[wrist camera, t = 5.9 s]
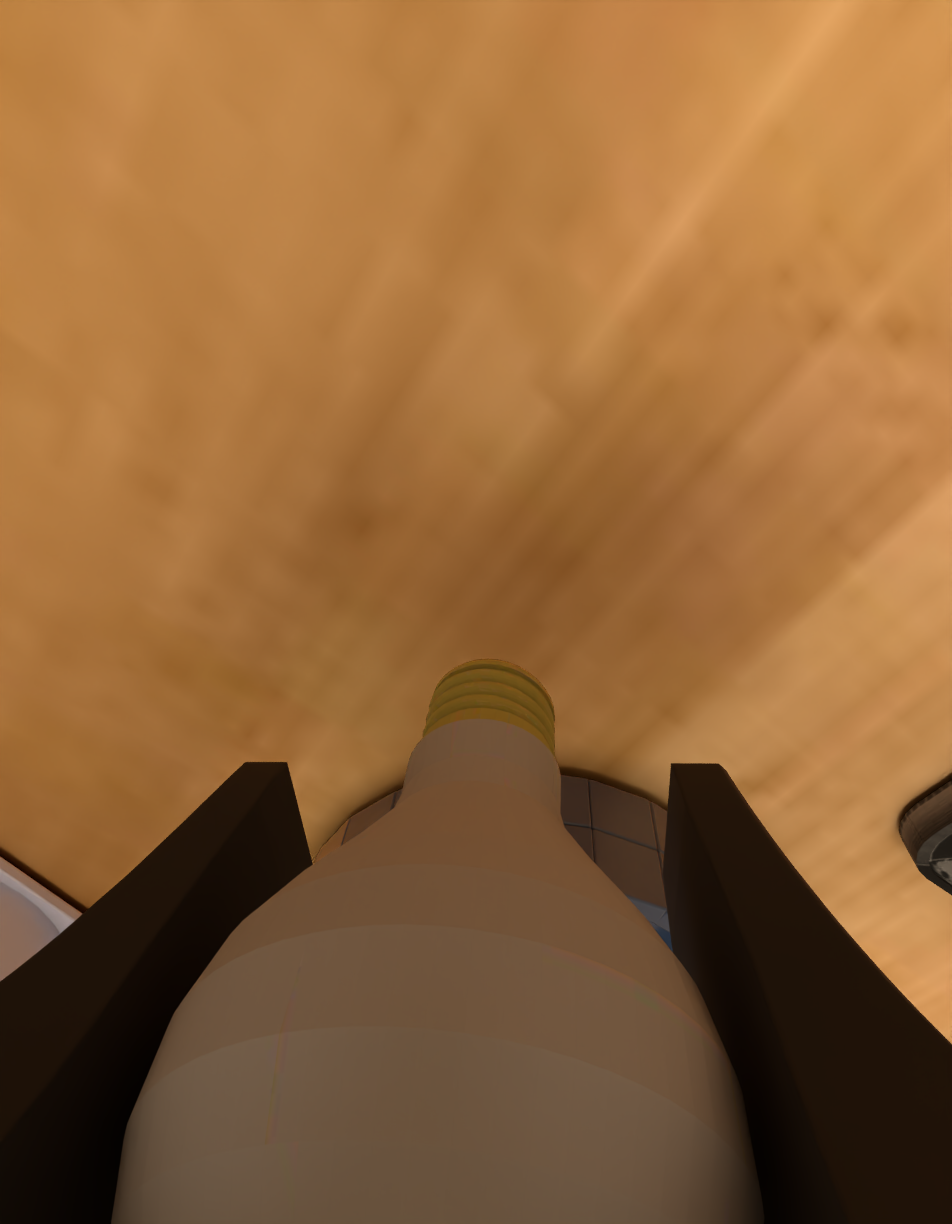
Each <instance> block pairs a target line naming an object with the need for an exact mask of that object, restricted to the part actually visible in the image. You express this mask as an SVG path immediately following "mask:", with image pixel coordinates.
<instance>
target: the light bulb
mask: <svg viewBox="0 0 952 1224" xmlns="http://www.w3.org/2000/svg"><path fill="white" fill-rule="evenodd" d="M554 721H555V715H554V707H553V704H552V701H551V698H550V696H549V694H548V693H547V691H546V689H545V688H544V687H543V686H542V685H541V683H540V682H539V681H538V680H537V679H536V678H535V677H534V676H533V675H531V674H530V673H529V672H528V671H526V670H524V669H523V668H521V667H519V666H517V665H514V664H512V663H509V662H505V661H501V660H495V659H481V660H474V661H470V662H467V663H464V664H462V665H459V666H457V667H455V668H454V669H452V670H451V671H450V672H448V673H447V674H446V675H445V676H444V677H443V678H442V679H441V680H440V682H439V683H438V685H437V687H436V689H435V691H434V694H433V696H432V699H431V702H430V705H429V712H428V715H427V718H426V726H425V729H424V731H423V738H422V740H421V741H420V742H419V743H418V744H417V746H416V747H415V748H414V750H413V752H412V754H411V756H410V758H409V762H408V766H407V771H406V775H405V780H404V785H403V790H402V794H401V796H400V798H399V800H398V802H397V804H396V805H395V807H394V808H393V809H392V810H391V811H389V812H388V813H387V814H385V815H384V816H383V817H381V818H380V819H379V820H377V821H376V822H375V823H373V824H372V825H371V826H369V827H368V828H367V829H365V830H364V831H363V832H361V833H360V834H358V835H357V836H355V837H354V838H352V839H351V840H349V841H348V842H346V843H345V844H343V845H342V846H340V847H339V848H337V849H336V850H334V851H333V852H331V853H330V854H328V855H327V856H325V857H324V858H322V859H321V860H319V861H318V862H316V863H315V864H313V865H312V866H310V867H309V868H307V869H306V870H304V871H303V872H302V873H300V874H299V875H298V876H297V877H296V878H294V879H293V880H292V881H291V882H289V883H288V884H287V885H286V886H285V887H283V888H282V889H281V890H280V891H278V892H277V893H276V894H275V895H274V896H272V897H271V898H270V899H269V900H267V901H266V902H265V903H264V904H262V905H261V906H260V907H259V908H258V909H256V910H255V911H254V912H253V913H251V914H250V915H249V916H248V917H247V918H245V919H244V920H243V921H242V922H241V923H240V924H239V925H238V926H237V927H236V929H235V930H234V931H233V932H232V933H231V934H230V935H229V937H228V938H227V940H226V941H225V942H224V944H223V945H222V947H221V948H220V949H219V951H218V952H217V953H216V955H215V956H214V958H213V959H212V960H211V962H210V963H209V965H208V966H207V967H206V969H205V970H204V971H203V973H202V974H201V976H200V977H199V978H198V980H197V981H196V983H195V984H194V985H193V987H192V988H191V989H190V991H189V992H188V994H187V995H186V996H185V998H184V999H183V1001H182V1002H181V1004H180V1005H179V1007H178V1008H177V1009H176V1011H175V1012H174V1014H173V1016H172V1019H171V1021H170V1023H169V1025H168V1027H167V1030H166V1032H165V1035H164V1037H163V1039H162V1042H161V1044H160V1046H159V1049H158V1051H157V1054H156V1056H155V1058H154V1061H153V1063H152V1066H151V1068H150V1070H149V1073H148V1075H147V1078H146V1080H145V1082H144V1085H143V1087H142V1089H141V1092H140V1094H139V1097H138V1099H137V1101H136V1104H135V1106H134V1109H133V1111H132V1113H131V1116H130V1118H129V1121H128V1123H127V1126H126V1131H125V1135H124V1140H123V1147H122V1153H121V1160H120V1167H119V1173H118V1180H117V1187H116V1193H115V1200H114V1207H113V1213H112V1220H111V1224H764V1210H763V1202H762V1197H761V1191H760V1186H759V1180H758V1175H757V1169H756V1164H755V1158H754V1153H753V1147H752V1142H751V1137H750V1131H749V1126H748V1120H747V1115H746V1109H745V1104H744V1098H743V1093H742V1090H741V1087H740V1084H739V1081H738V1078H737V1075H736V1073H735V1071H734V1068H733V1066H732V1064H731V1062H730V1059H729V1057H728V1055H727V1052H726V1050H725V1048H724V1045H723V1043H722V1041H721V1038H720V1036H719V1034H718V1031H717V1029H716V1027H715V1025H714V1022H713V1020H712V1018H711V1015H710V1013H709V1011H708V1008H707V1006H706V1004H705V1001H704V999H703V997H702V995H701V993H700V991H699V989H698V987H697V985H696V983H695V982H694V981H693V979H692V978H691V976H690V975H689V973H688V972H687V970H686V969H685V968H684V966H683V965H682V964H681V962H680V961H679V960H678V959H677V957H676V956H675V955H674V953H673V952H672V951H671V950H670V948H669V947H668V946H667V945H666V943H665V942H664V941H663V939H662V938H661V937H660V936H659V934H658V933H657V932H656V930H655V929H654V928H653V927H652V925H651V924H650V923H649V921H648V920H647V919H646V918H645V916H644V915H643V914H642V913H641V912H640V911H639V910H638V909H637V907H636V906H635V905H634V904H633V903H632V902H631V901H630V900H629V899H628V898H627V897H626V896H625V895H624V894H623V892H622V891H621V890H620V889H619V888H618V887H617V886H616V885H615V884H614V883H613V882H612V881H611V880H610V879H609V878H608V877H607V876H606V875H605V873H604V872H603V871H602V870H601V869H600V868H599V867H598V866H597V865H596V864H595V863H594V862H593V861H592V860H591V859H590V857H589V856H588V855H587V854H586V853H585V851H584V850H583V849H582V848H581V847H580V846H579V844H578V843H577V842H576V841H575V840H574V838H573V837H572V836H571V835H570V834H569V832H568V831H567V830H566V829H565V828H564V824H563V821H562V817H561V813H560V806H561V776H560V771H559V767H558V764H557V762H556V760H555V752H554V747H555V740H554V733H555V728H554Z"/></svg>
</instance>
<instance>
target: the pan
mask: <svg viewBox="0 0 952 1224" xmlns="http://www.w3.org/2000/svg"><path fill="white" fill-rule="evenodd" d="M560 776H561V806H560V813H561V817H562V821H563V824H564V828H565V829H566V830H567V831H568V832H569V834H570V835H571V836H572V837H573V838H574V840H575V841H576V842H577V843H578V844H579V846H580V847H581V848H582V849H583V850H584V851H585V853H586V854H587V855H588V856H589V857H590V859H591V860H592V861H593V862H594V863H595V864H596V865H597V866H598V867H599V868H600V869H601V870H602V871H603V872H604V873H605V875H606V876H607V877H608V878H609V879H610V880H611V881H612V882H613V883H614V884H615V885H616V886H617V887H618V888H619V889H620V890H621V891H622V892H623V894H624V895H625V896H626V897H627V898H628V899H629V900H630V901H631V902H632V903H633V904H634V905H635V906H636V907H637V909H638V910H639V911H640V912H641V913H642V914H643V915H644V916H645V918H646V919H647V920H648V921H649V923H650V924H651V925H652V927H653V928H654V929H655V930H656V932H657V933H658V934H659V936H660V937H661V938H662V939H663V941H664V942H665V943H666V945H667V946H668V947H669V948H670V950H671V951H672V952H673V950H672V944H671V936H670V928H669V921H668V913H667V904H666V895H665V887H664V878H663V862H664V849H665V836H666V824H667V811H666V810H664V809H663V808H661V807H660V806H658V805H657V804H655V803H654V802H652V801H649V800H648V799H645V798H643V797H640V796H637V795H634V794H631V793H629V792H626V791H623V790H620V789H617V788H615V787H612V786H609V785H606V784H603V783H600V782H598V781H595V780H592V779H589V780H588V779H587V778H582V777H574V776H567V775H560ZM402 790H403V788H402V789H399V790H398V791H394V792H393V793H391V794H389V795H388V796H386V797H384V798H382V799H381V800H379V801H377V802H375V803H374V804H372V805H370V806H369V807H367V808H365V809H363V810H362V811H360V812H358V813H356V814H355V815H353V816H352V817H350V818H349V819H348V820H347V821H346V822H345V823H344V824H343V825H342V826H341V827H340V828H339V830H338V831H337V832H336V833H335V834H334V835H333V836H332V837H331V838H330V839H329V840H328V842H327V843H326V844H325V845H324V846H323V847H322V848H321V849H320V850H319V853H318V854H317V857H316V859H315V862H314V864H315V863H316V862H318V861H319V860H321V859H322V858H324V857H325V856H327V855H328V854H330V853H331V852H333V851H334V850H336V849H337V848H339V847H340V846H342V845H343V844H345V843H346V842H348V841H349V840H351V839H352V838H354V837H355V836H357V835H358V834H360V833H361V832H363V831H364V830H365V829H367V828H368V827H369V826H371V825H372V824H373V823H375V822H376V821H377V820H379V819H380V818H381V817H383V816H384V815H385V814H387V813H388V812H389V811H391V810H392V809H393V808H394V807H395V805H396V804H397V802H398V800H399V798H400V796H401V794H402Z"/></svg>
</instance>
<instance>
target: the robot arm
mask: <svg viewBox="0 0 952 1224" xmlns="http://www.w3.org/2000/svg"><path fill="white" fill-rule="evenodd" d="M312 865H313V864H312V860H311V856H310V852H309V848H308V844H307V840H306V836H305V832H304V828H303V824H302V820H301V816H300V812H299V808H298V804H297V800H296V796H295V792H294V788H293V784H292V780H291V776H290V772H289V768H288V764H287V762H245V763H244V764H243V765H242V766H241V767H240V768H239V769H238V770H236V771H235V772H234V773H233V774H232V775H231V776H230V777H229V778H228V779H227V780H226V781H225V782H224V783H223V784H222V785H221V786H220V787H219V788H218V789H217V790H216V791H215V792H214V793H213V794H212V795H211V796H209V797H208V798H207V799H206V800H205V801H204V802H203V803H202V804H201V805H200V806H199V807H198V808H197V809H196V810H195V811H194V812H193V813H192V814H191V815H190V816H189V817H188V818H187V819H186V820H185V821H184V822H183V823H182V824H181V825H180V826H179V827H178V828H177V829H176V830H174V831H173V832H172V833H171V834H170V835H169V836H168V837H167V838H166V839H165V840H164V841H163V842H162V843H161V844H160V845H159V846H158V847H156V848H155V849H154V850H153V851H152V852H151V853H150V854H149V855H148V856H147V857H146V858H145V859H144V860H143V861H142V862H141V863H140V864H138V865H137V866H136V867H135V868H134V869H133V870H132V871H131V872H130V873H129V874H128V875H127V876H126V877H124V878H123V879H122V880H121V881H120V882H119V883H118V884H116V885H115V886H114V887H113V888H112V889H111V890H110V891H108V892H107V893H106V894H105V895H104V896H103V897H102V898H100V899H99V900H98V901H97V902H96V903H95V904H94V905H92V906H91V907H90V908H89V909H88V910H87V911H85V912H84V913H83V914H82V913H81V912H79V911H78V910H76V909H75V908H73V907H72V906H71V905H69V904H68V903H66V902H65V901H63V900H62V899H61V898H59V897H58V896H56V895H55V894H53V893H52V892H51V891H49V890H48V889H46V888H45V887H43V886H42V885H40V884H39V883H38V882H36V881H35V880H33V879H32V878H30V877H29V876H28V875H26V874H25V873H23V872H22V871H20V870H19V869H18V868H16V867H15V866H13V865H12V864H10V863H9V862H7V861H6V860H5V859H3V858H2V857H0V1224H111V1220H112V1213H113V1207H114V1200H115V1193H116V1187H117V1180H118V1173H119V1167H120V1160H121V1153H122V1147H123V1140H124V1135H125V1131H126V1126H127V1123H128V1121H129V1118H130V1116H131V1113H132V1111H133V1109H134V1106H135V1104H136V1101H137V1099H138V1097H139V1094H140V1092H141V1089H142V1087H143V1085H144V1082H145V1080H146V1078H147V1075H148V1073H149V1070H150V1068H151V1066H152V1063H153V1061H154V1058H155V1056H156V1054H157V1051H158V1049H159V1046H160V1044H161V1042H162V1039H163V1037H164V1035H165V1032H166V1030H167V1027H168V1025H169V1023H170V1021H171V1019H172V1016H173V1014H174V1012H175V1011H176V1009H177V1008H178V1007H179V1005H180V1004H181V1002H182V1001H183V999H184V998H185V996H186V995H187V994H188V992H189V991H190V989H191V988H192V987H193V985H194V984H195V983H196V981H197V980H198V978H199V977H200V976H201V974H202V973H203V971H204V970H205V969H206V967H207V966H208V965H209V963H210V962H211V960H212V959H213V958H214V956H215V955H216V953H217V952H218V951H219V949H220V948H221V947H222V945H223V944H224V942H225V941H226V940H227V938H228V937H229V935H230V934H231V933H232V932H233V931H234V930H235V929H236V927H237V926H238V925H239V924H240V923H241V922H242V921H243V920H244V919H245V918H247V917H248V916H249V915H250V914H251V913H253V912H254V911H255V910H256V909H258V908H259V907H260V906H261V905H262V904H264V903H265V902H266V901H267V900H269V899H270V898H271V897H272V896H274V895H275V894H276V893H277V892H278V891H280V890H281V889H282V888H283V887H285V886H286V885H287V884H288V883H289V882H291V881H292V880H293V879H294V878H296V877H297V876H298V875H299V874H300V873H302V872H303V871H304V870H306V869H307V868H309V867H310V866H312ZM663 878H664V887H665V895H666V904H667V913H668V921H669V928H670V936H671V944H672V950H673V953H674V955H675V956H676V957H677V959H678V960H679V961H680V962H681V964H682V965H683V966H684V968H685V969H686V970H687V972H688V973H689V975H690V976H691V978H692V979H693V981H694V982H695V983H696V985H697V987H698V989H699V991H700V993H701V995H702V997H703V999H704V1001H705V1004H706V1006H707V1008H708V1011H709V1013H710V1015H711V1018H712V1020H713V1022H714V1025H715V1027H716V1029H717V1031H718V1034H719V1036H720V1038H721V1041H722V1043H723V1045H724V1048H725V1050H726V1052H727V1055H728V1057H729V1059H730V1062H731V1064H732V1066H733V1068H734V1071H735V1073H736V1075H737V1078H738V1081H739V1084H740V1087H741V1090H742V1093H743V1098H744V1104H745V1109H746V1115H747V1120H748V1126H749V1131H750V1137H751V1142H752V1147H753V1153H754V1158H755V1164H756V1169H757V1175H758V1180H759V1186H760V1191H761V1197H762V1202H763V1210H764V1224H952V1044H951V1043H950V1042H949V1041H948V1040H947V1039H946V1038H945V1037H944V1036H943V1035H942V1034H941V1033H940V1032H939V1031H938V1030H937V1029H936V1028H935V1027H934V1026H933V1025H932V1024H931V1023H930V1022H929V1021H928V1020H927V1019H926V1018H925V1017H924V1016H923V1015H922V1014H921V1013H920V1012H919V1011H918V1010H917V1009H916V1008H915V1007H914V1005H913V1004H912V1003H911V1002H910V1001H909V1000H908V999H907V998H906V997H905V996H904V995H903V994H902V993H901V992H900V991H899V990H898V989H897V987H896V986H895V985H894V984H893V983H892V982H891V981H890V980H889V979H888V978H887V977H886V975H885V974H884V973H883V972H882V971H881V970H880V969H879V968H878V967H877V966H876V964H875V963H874V962H873V961H872V960H871V959H870V958H869V956H868V955H867V954H866V953H865V952H864V951H863V950H862V949H861V947H860V946H859V945H858V944H857V943H856V942H855V941H854V939H853V938H852V937H851V936H850V935H849V934H848V933H847V931H846V930H845V929H844V928H843V927H842V925H841V924H840V923H839V922H838V921H837V920H836V918H835V917H834V916H833V915H832V914H831V912H830V911H829V910H828V909H827V908H826V906H825V905H824V904H823V903H822V901H821V900H820V899H819V898H818V896H817V895H816V894H815V893H814V891H813V890H812V889H811V888H810V886H809V885H808V884H807V882H806V881H805V880H804V879H803V877H802V876H801V875H800V874H799V872H798V871H797V870H796V869H795V867H794V866H793V865H792V864H791V862H790V861H789V860H788V858H787V857H786V856H785V854H784V853H783V852H782V850H781V849H780V848H779V846H778V845H777V844H776V842H775V841H774V840H773V838H772V837H771V835H770V834H769V833H768V831H767V830H766V829H765V827H764V826H763V824H762V823H761V822H760V820H759V819H758V817H757V816H756V815H755V813H754V812H753V810H752V809H751V807H750V806H749V805H748V803H747V802H746V800H745V799H744V797H743V796H742V794H741V793H740V791H739V790H738V788H737V787H736V785H735V784H734V782H733V781H732V779H731V777H730V776H729V774H728V773H727V771H726V770H725V769H724V768H723V767H722V766H721V765H720V764H683V763H671V772H670V785H669V798H668V811H667V824H666V836H665V849H664V862H663Z"/></svg>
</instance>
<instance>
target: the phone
mask: <svg viewBox="0 0 952 1224" xmlns="http://www.w3.org/2000/svg"><path fill="white" fill-rule="evenodd" d="M899 832H900V835H901V838H902V841H903V842H904V844H905V846H906V848H907V850H908V852H909V853H910V855H911V857H912V859H913V861H914V863H915V864H916V866H917V868H918V870H919V871H920V872H921V873H922V874H923V875H924V876H925V877H926V878H927V879H928V880H930V881H931V882H933V883H934V884H936V885H937V886H939V887H940V888H942V889H943V890H945V891H946V892H948V893H949V894H951V895H952V780H951V781H949V782H948V783H946V784H945V785H943V786H942V787H940V788H939V789H937V790H936V791H934V792H933V793H931V794H930V795H928V796H927V797H926V798H924V799H923V800H921V801H920V802H918V803H917V804H915V805H914V806H913V807H912V808H911V809H910V810H909V811H907V812H906V814H905V815H904V817H903V819H902V820H901V823H900V830H899Z"/></svg>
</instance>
